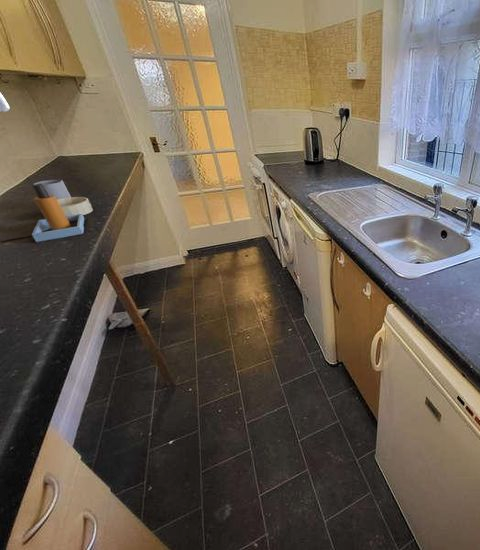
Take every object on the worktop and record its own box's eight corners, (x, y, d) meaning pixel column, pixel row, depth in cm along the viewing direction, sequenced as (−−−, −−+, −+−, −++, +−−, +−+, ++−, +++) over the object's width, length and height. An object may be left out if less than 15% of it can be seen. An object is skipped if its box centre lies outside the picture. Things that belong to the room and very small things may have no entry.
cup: (65, 209, 119) (52, 184, 114) (42, 210, 118) (27, 185, 113) (79, 203, 127) (67, 179, 121) (57, 204, 125) (44, 180, 120)
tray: (36, 242, 94) (31, 234, 93) (42, 226, 104) (38, 219, 103) (83, 233, 100) (79, 226, 99) (85, 220, 110) (81, 213, 109)
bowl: (46, 223, 107) (39, 210, 105) (51, 213, 116) (44, 200, 113) (93, 216, 114) (87, 203, 112) (94, 207, 123) (88, 195, 120)
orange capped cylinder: (51, 232, 99) (25, 187, 91) (53, 227, 102) (27, 184, 94) (70, 229, 102) (47, 185, 94) (71, 224, 105) (49, 182, 97)
